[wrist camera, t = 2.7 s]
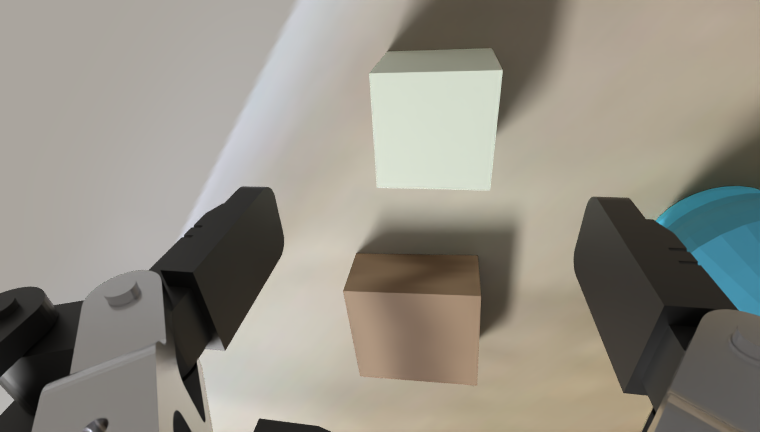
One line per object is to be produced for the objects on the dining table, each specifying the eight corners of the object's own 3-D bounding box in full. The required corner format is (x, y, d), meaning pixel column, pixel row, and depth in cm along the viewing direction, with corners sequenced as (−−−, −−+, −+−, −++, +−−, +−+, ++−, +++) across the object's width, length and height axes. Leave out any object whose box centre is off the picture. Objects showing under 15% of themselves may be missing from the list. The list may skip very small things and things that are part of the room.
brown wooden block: (477, 252, 25) (481, 296, 22) (474, 338, 29) (477, 385, 26) (357, 250, 26) (343, 291, 23) (370, 332, 31) (360, 376, 27)
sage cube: (491, 47, 18) (502, 70, 14) (482, 146, 21) (490, 190, 17) (387, 51, 19) (369, 73, 15) (391, 146, 22) (376, 187, 18)
